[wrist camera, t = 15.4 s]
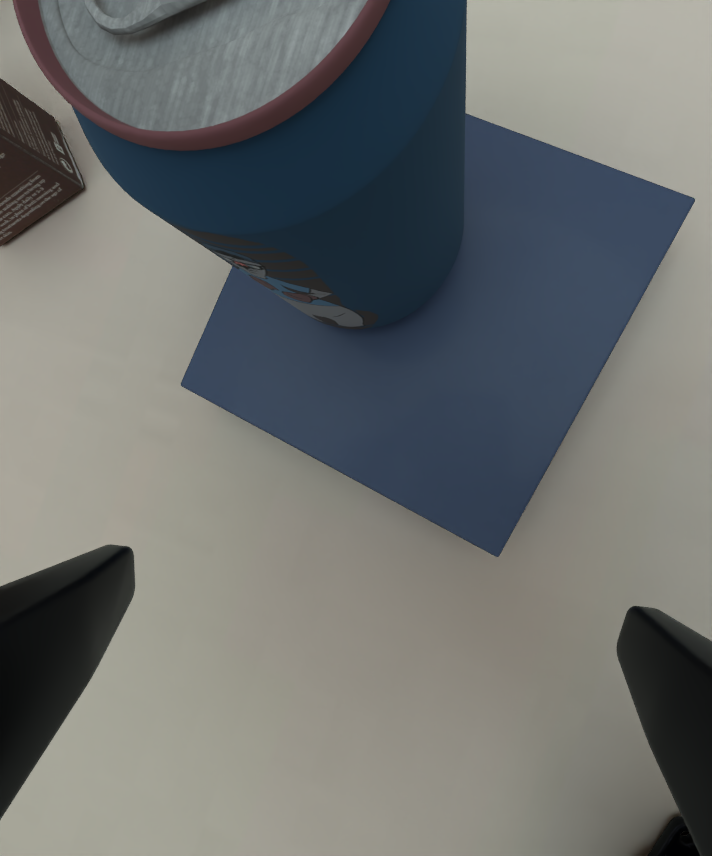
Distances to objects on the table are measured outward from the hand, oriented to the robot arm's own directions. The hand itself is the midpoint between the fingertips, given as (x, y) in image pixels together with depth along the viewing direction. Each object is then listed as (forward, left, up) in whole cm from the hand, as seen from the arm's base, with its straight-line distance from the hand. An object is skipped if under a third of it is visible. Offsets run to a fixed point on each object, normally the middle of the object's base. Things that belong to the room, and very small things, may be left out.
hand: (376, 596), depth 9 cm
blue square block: (+4, -6, -12) cm, 14 cm away
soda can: (+6, -8, -9) cm, 14 cm away
